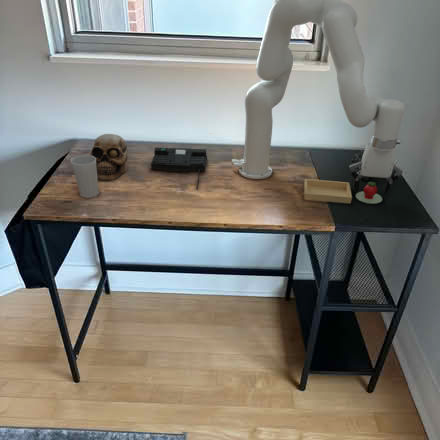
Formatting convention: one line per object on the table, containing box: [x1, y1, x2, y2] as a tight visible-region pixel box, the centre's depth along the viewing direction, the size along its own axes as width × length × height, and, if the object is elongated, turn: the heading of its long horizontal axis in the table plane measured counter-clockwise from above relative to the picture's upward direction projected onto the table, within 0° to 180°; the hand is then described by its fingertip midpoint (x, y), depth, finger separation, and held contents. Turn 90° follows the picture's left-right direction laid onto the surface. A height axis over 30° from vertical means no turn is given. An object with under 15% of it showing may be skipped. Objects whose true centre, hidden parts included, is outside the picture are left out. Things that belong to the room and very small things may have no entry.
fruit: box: [351, 149, 370, 182], centre depth 167 cm, size 9×8×15 cm
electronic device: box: [150, 147, 208, 190], centre depth 168 cm, size 21×30×5 cm
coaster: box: [355, 190, 383, 204], centre depth 155 cm, size 9×9×1 cm
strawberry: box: [363, 181, 378, 199], centre depth 153 cm, size 4×4×5 cm
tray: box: [303, 178, 353, 204], centre depth 155 cm, size 16×12×3 cm
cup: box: [70, 154, 100, 199], centre depth 149 cm, size 8×8×12 cm
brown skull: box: [90, 133, 129, 182], centre depth 166 cm, size 16×17×13 cm
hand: (370, 191), depth 153 cm, fingers open, 9 cm apart
